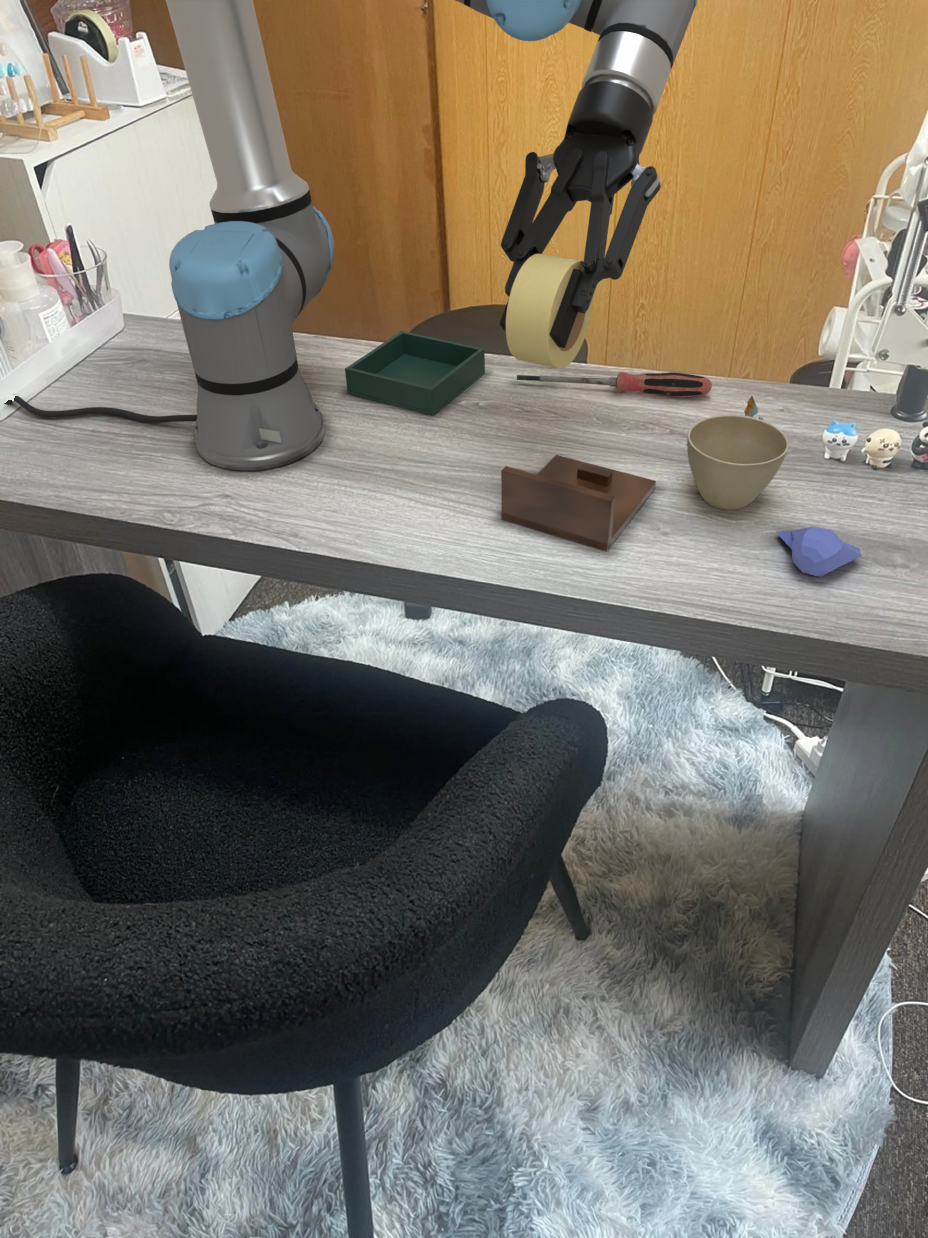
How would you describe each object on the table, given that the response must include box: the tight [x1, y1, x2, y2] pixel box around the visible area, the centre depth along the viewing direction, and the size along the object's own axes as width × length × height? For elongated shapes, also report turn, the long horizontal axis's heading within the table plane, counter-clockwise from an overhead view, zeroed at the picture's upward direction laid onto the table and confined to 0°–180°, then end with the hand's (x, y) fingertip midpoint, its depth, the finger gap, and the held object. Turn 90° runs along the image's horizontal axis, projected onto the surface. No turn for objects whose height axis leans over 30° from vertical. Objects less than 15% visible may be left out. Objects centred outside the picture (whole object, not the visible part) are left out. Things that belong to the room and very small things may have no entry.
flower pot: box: [686, 413, 790, 511], centre depth 92 cm, size 10×10×7 cm
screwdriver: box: [516, 371, 713, 398], centre depth 113 cm, size 25×3×3 cm
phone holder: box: [500, 454, 657, 552], centre depth 93 cm, size 12×13×6 cm
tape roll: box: [505, 253, 594, 370], centre depth 86 cm, size 5×10×10 cm, turn 149°
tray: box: [344, 330, 486, 417], centre depth 116 cm, size 13×13×4 cm
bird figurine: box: [775, 526, 862, 577], centre depth 85 cm, size 8×6×6 cm
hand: (532, 335), depth 84 cm, fingers closed on tape roll, 5 cm apart
